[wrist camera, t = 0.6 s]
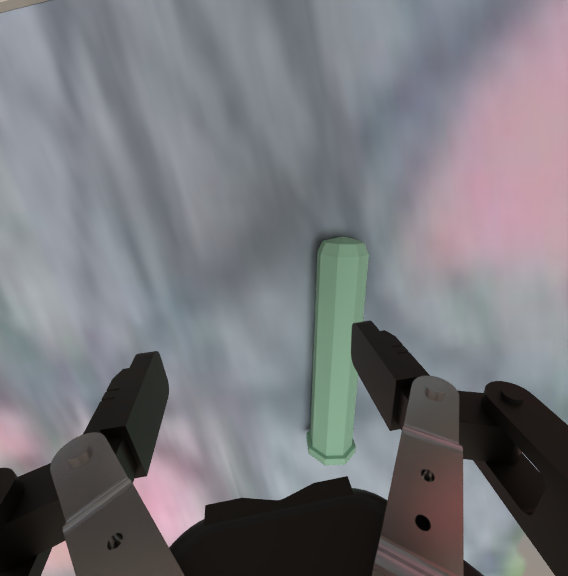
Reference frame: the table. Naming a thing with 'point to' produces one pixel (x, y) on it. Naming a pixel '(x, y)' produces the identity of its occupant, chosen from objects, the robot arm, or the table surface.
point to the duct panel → (16, 4)
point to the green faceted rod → (336, 348)
